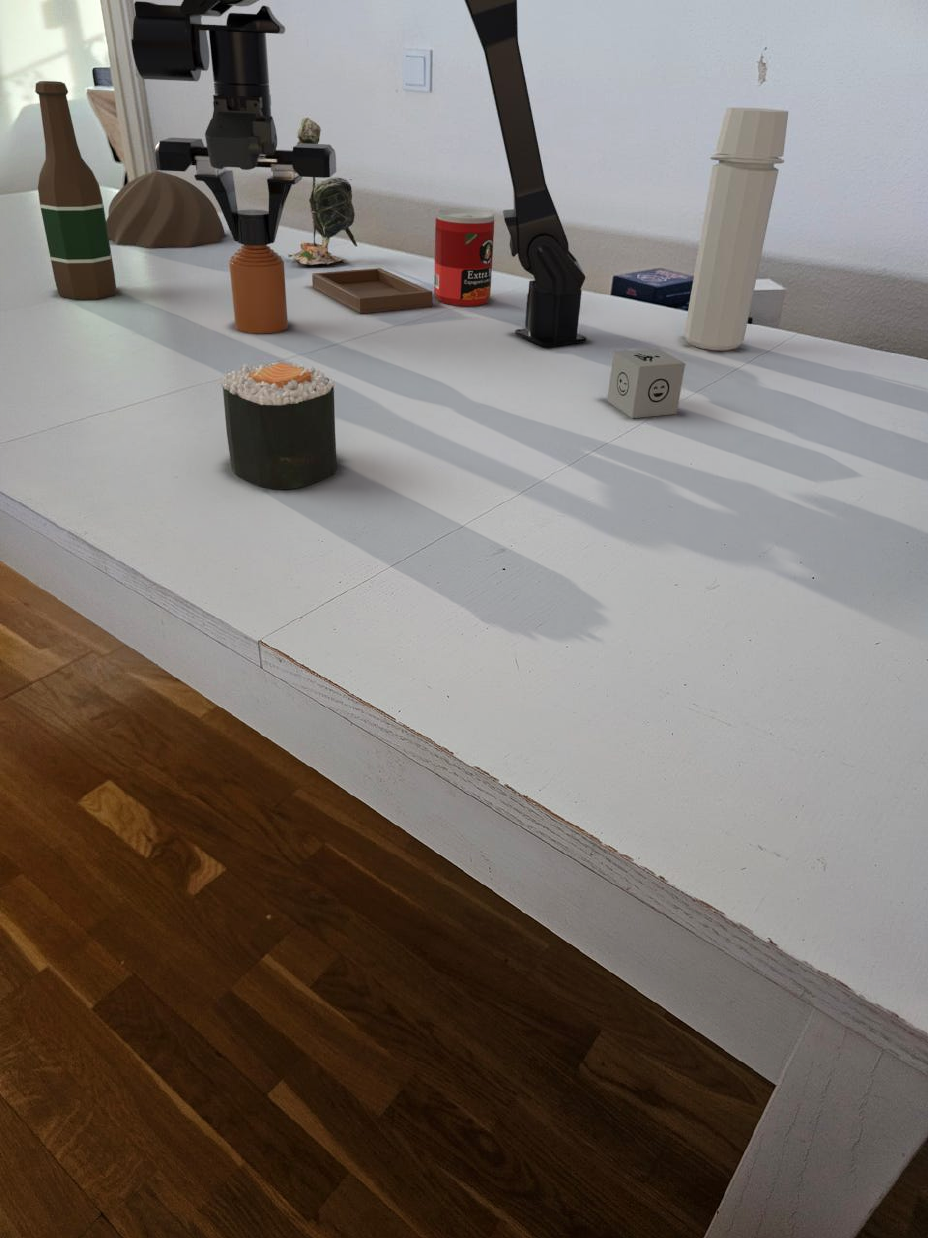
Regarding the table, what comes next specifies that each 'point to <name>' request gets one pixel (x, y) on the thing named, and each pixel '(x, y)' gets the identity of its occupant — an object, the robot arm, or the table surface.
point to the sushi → (280, 425)
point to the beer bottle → (71, 205)
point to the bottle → (258, 290)
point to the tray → (371, 290)
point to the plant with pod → (325, 207)
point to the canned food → (463, 256)
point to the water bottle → (734, 226)
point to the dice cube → (645, 382)
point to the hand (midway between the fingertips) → (254, 241)
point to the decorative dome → (162, 214)
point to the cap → (252, 227)
